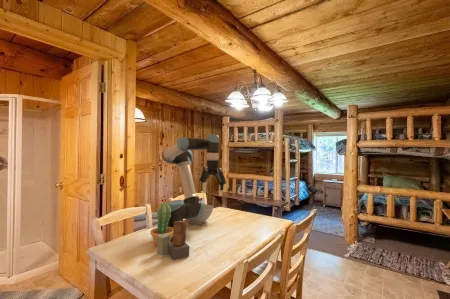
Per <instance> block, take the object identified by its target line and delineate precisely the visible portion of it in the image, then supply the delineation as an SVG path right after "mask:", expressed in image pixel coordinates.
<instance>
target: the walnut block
mask: <svg viewBox="0 0 450 299" xmlns="http://www.w3.org/2000/svg"><path fill="white" fill-rule="evenodd" d="M187 222H188V221H186V220H183V221H174V227H173V240H171V241H172V242H171V243H172V244H175V245H183V244H185V243H186V238H187V237H186V236H187V235H186V234H187Z"/></svg>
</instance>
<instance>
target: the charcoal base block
mask: <svg viewBox="0 0 450 299" xmlns="http://www.w3.org/2000/svg"><path fill="white" fill-rule="evenodd" d="M167 255H168V256H169V258H171V260H172V261H173V260H174V261H177V260H181V259H186V258H188V257H190V245H189V244H188V243H186V242H185V244H183V245H175V244H172V242H170V244H168V254H167ZM185 257H186V258H185Z"/></svg>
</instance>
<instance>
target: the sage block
mask: <svg viewBox="0 0 450 299" xmlns="http://www.w3.org/2000/svg"><path fill="white" fill-rule="evenodd" d="M170 243H171V240H170V235H167V234H165V233H164V234H161V235H158V236H157V245H156V254H157V253H158V255H159V254H160V256H161V255H162V257H163V255H164V256H166V255H168V244H170ZM165 254H166V255H165Z"/></svg>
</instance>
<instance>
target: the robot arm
mask: <svg viewBox="0 0 450 299" xmlns="http://www.w3.org/2000/svg"><path fill="white" fill-rule="evenodd" d="M192 151H206V166H203V168H202V172H201V175H200V178H199V181H200V182H201V187H202V194H205V193H207V185H208V184H207V180H208V179H209V178H210V176H211V175H212V176H214V177H215V178H216V180H217V181H218V182H217V183H218V196H219V197H222V196H223V195H224V194H223V191H224V185H226V184H227V180H226V178H225V174H224V172H223V168H222V167H219V165H220V163H219V162H220V160H219V158H220V136H219V134H208V135H207V136H206V138H205V137H204V138H198V137H185V136H184V137H179V138H177V141H176V143H174V145H172V146H171V147H166V148H165V149H164V150H163V151H162V152H161V159H162V160H163V161H164V162H165V163H167V164H171V165H176V168H178V169H179V175H180V180H181V185H182V190H183V196H184V198H183V200H182V199H175V200H171V201H168V202H166V203H167V204H168V205H169V207H170V208H171V217H170V219H169V222H168V227H172V228H173V227H174V221H184V220H185V219H188V218H194V217H199V216H201V215H202V214H203V211H204V204H205V202H204V200H202V199H200V196H198V195H197V192H196V188H195V183H194V178H193V177H194V176H193V174H192V169H191V166H192V163H193V161H194V154H193V152H192ZM172 240H173V237H172V238H171V240H170V241H172Z"/></svg>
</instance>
